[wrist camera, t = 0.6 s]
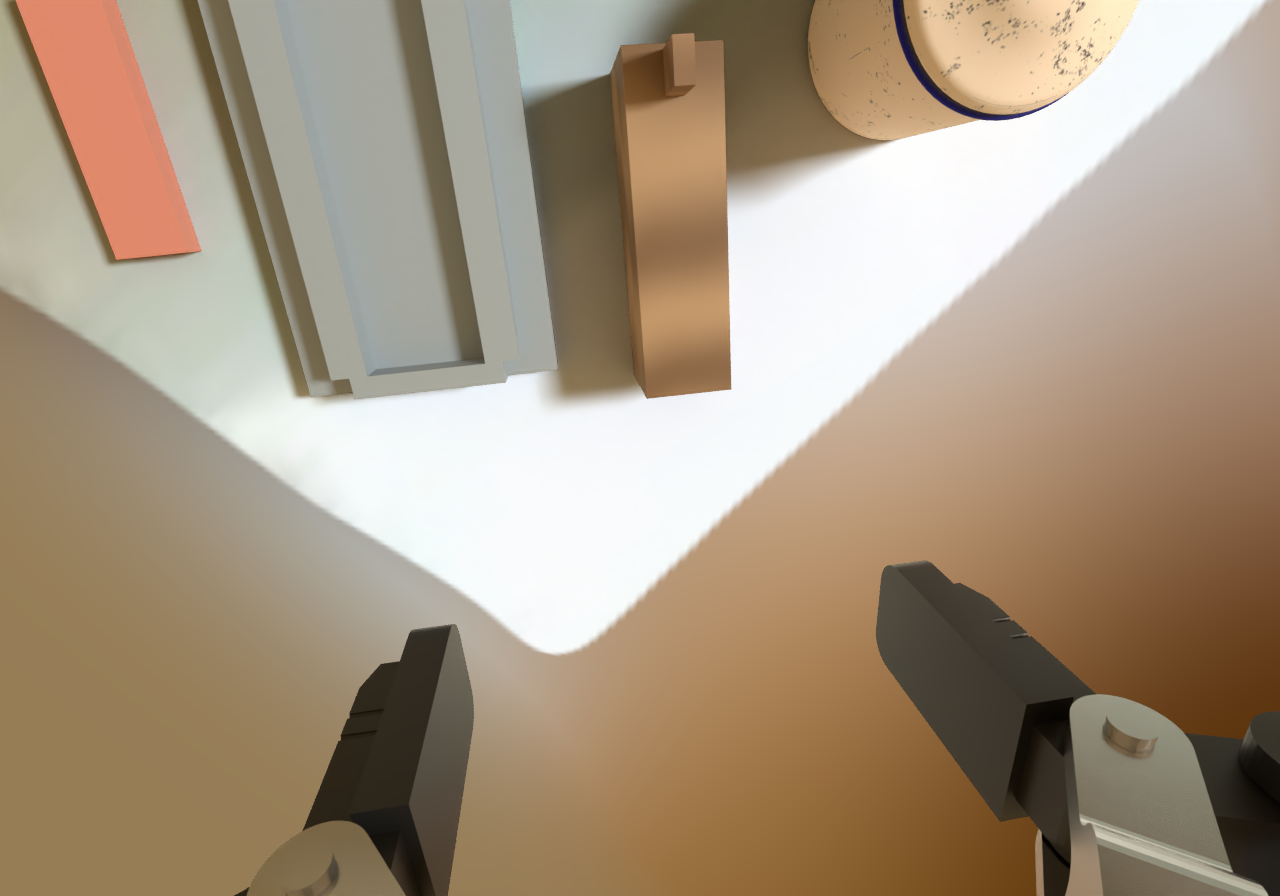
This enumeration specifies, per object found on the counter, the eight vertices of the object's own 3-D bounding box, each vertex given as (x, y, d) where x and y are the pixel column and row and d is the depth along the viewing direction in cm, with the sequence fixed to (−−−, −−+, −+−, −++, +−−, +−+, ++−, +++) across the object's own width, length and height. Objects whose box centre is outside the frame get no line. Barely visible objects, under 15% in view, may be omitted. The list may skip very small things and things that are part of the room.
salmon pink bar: (40, -1, 24) (10, -15, 23) (119, -7, 25) (93, -20, 23) (138, 257, 28) (116, 259, 27) (206, 250, 28) (188, 252, 27)
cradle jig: (198, -45, 24) (157, -76, 22) (501, -58, 25) (495, -89, 23) (319, 390, 31) (298, 405, 28) (557, 364, 32) (558, 376, 29)
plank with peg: (609, 74, 28) (626, 29, 21) (695, 70, 28) (737, 24, 22) (633, 373, 33) (653, 410, 26) (706, 365, 33) (743, 401, 27)
